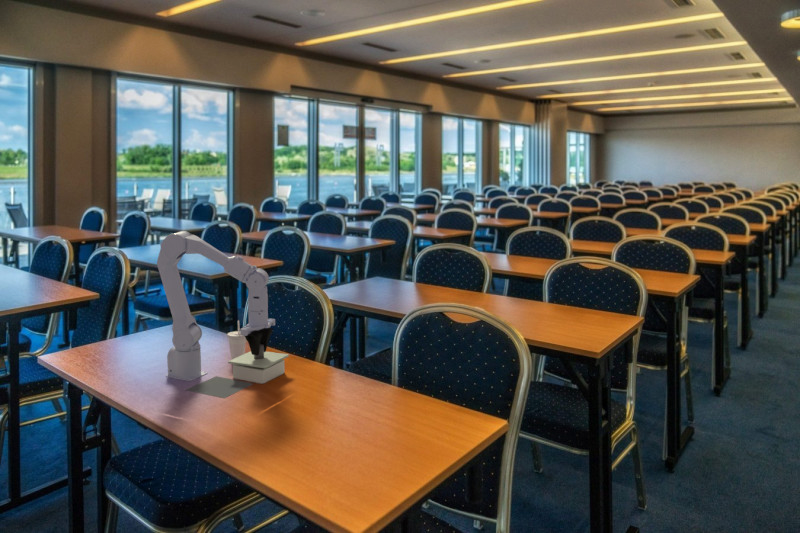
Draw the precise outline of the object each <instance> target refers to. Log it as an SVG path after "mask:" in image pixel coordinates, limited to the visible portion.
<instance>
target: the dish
mask: <svg viewBox="0 0 800 533" xmlns="http://www.w3.org/2000/svg"><path fill="white" fill-rule="evenodd" d="M285 371H286V370H285V360H284V359H283V360H281V361H279V362H277V363H275V364H273V365H271V366H269V367H267V368H258V367H251V366H244V365H237V364H232V378H233V380H238V381H244V382H249V383H254V384H255V383H256V384H262V385H263V384H266V383H268V382H270V381H272V380H274V379H276V378H278V377H280V376H283V375H284V374H285Z"/></svg>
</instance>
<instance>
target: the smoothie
mask: <svg viewBox="0 0 800 533" xmlns="http://www.w3.org/2000/svg"><path fill="white" fill-rule="evenodd" d="M240 325H241V324H240V320H237V330H235V331H230V332H227V335H226V338H227V339H228V346H229V352H230V358H231V359H230V360H232V359H234V358H237V357H239V356H241V355H243V354H245V353H246V345H247V344H246V342H247V339H246V338H245V336H243V335H240V329H241V328H240V327H241V326H240Z"/></svg>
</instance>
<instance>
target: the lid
mask: <svg viewBox="0 0 800 533" xmlns="http://www.w3.org/2000/svg"><path fill="white" fill-rule="evenodd" d="M288 357H290V354H288V353H280V352H272V351H266V352H264V344H260V348H259V355H252V353H251V350H250V351H248V352H245V354H243V355H241V356H239V357H237V358H234V359H230V360H228V361H227V363H228V364H230V365H234V364H237V365H244V366H251V367H258V368H267V367H269V366H271V365H273V364H275V363H277V362H279V361H281V360H284V359H287V358H288Z"/></svg>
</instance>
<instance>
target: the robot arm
mask: <svg viewBox="0 0 800 533" xmlns="http://www.w3.org/2000/svg"><path fill="white" fill-rule="evenodd" d="M186 254H187V255H191V254H192V255H193V254H194V255H195V254H197V255H201V256H202V257H205V258H206V259H209V260H210V261H212V262H214V263H216V264H218V265H219V266H222V268H223V270H224V272H225V274H228V275H230V276H231V277H232V278H235V279H236V280H238V281H240V282H241V283H243V284H245V286H246V287H247V288H248V295H247V296H248V298H247V299H248V300H247V301H248V303H247V304H248V310H247V311H248V312H247V313H248V323H247V324H246V325H244V327H241V328H240V335H243V336H245V338H246V342H247V343H248V346H249V349H250V351H251V353H252V355H259V348H260V344H264V352H267V349H268V344H269V341H270V338H271V335H272V334H273V332H274V329H273V328H271V326H272V327H274V326H276V319H275V318H269V313H268V312H269V306H268V305H269V295H268V286H267V285H268V283H269V280H270V276H269V274H268V273H267V272H268V271H266V270H264V269H263V268H258V266H256V265H255V264H254V265H252V264H250V263H249V262H247V261H245V260H244V257H242V256H237V255H233V256H228V255H227V254H225V253H224V252H222V251H221V250H219V249H217V248H216V247H214V246H213V245H211V244H210V243H208V242H207V241H205V240H203V239H202V238H201V237H199V236H198V235H195V234H192V233H190V232H188V231H187V230H180V231H177V232H174V233H170V234H168V235H166V236H165V238H164V239H163V240H162V241H161V243H160V249H159V254H158V256H157V262H156V266H157V269H158V272H159V276H160V279H161V282H162V286H163V290H164V293H165V296H166V299H167V303H168V306H169V310H170V313H171V316H172V321H173V322H172V326H171V327H172V328H171V331H172V338H171V339H172V345H173V346H171V348H169V350H168V353H167V358H166V359H167V361H166V362H167V374H165V377H166V378H171V379H176V380H181V381H187V382H191V381H193V380H196V379H198V378H201V377H203V376H206V375H208V372H206V371H203V370H202V360H201V359H202V357H201V353H202V352H201V344H200V342H199V341H200V340H201V338H202V335H203V330H202V327H201V326H200V325H199V324H198V323H197V320H196V318H195V317H194V316H193V315H192V313H191V310H190V307H189V303H188V300H187V295H186V292H185V288H184V285H183V282H182V279H181V275H180V272H179V268H178V264H179V262H180V261H181V259H182V258H183V257H184V255H186Z"/></svg>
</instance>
